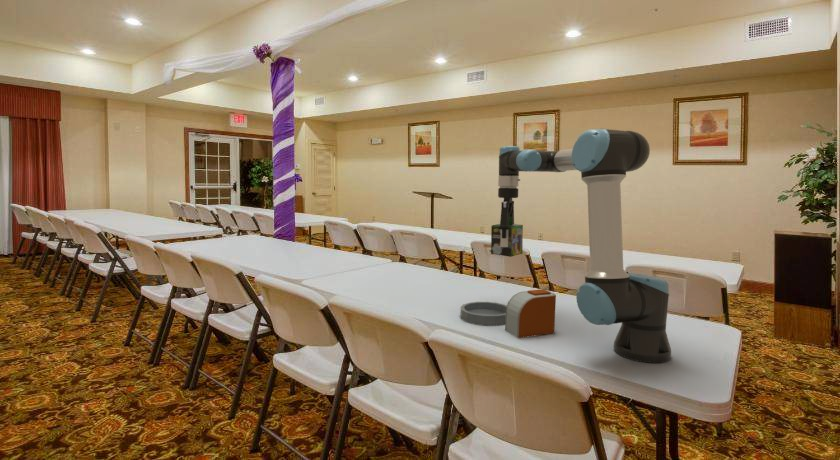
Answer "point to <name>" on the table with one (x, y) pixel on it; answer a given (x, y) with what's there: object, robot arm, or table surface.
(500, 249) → the chalk box
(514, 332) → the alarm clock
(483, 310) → the round tray
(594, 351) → the table surface
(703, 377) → the table surface
